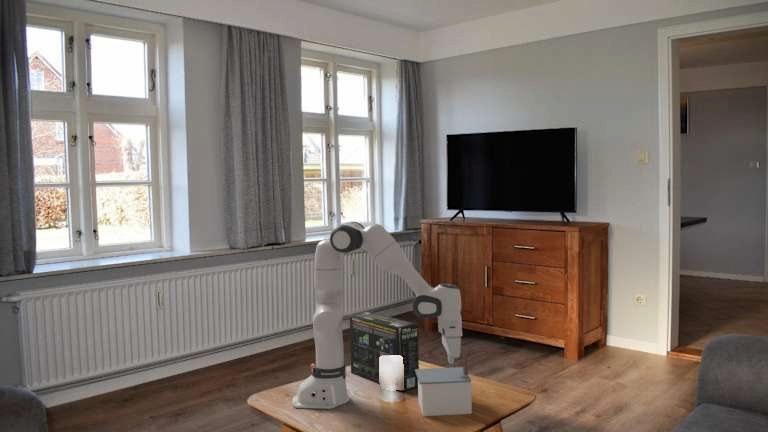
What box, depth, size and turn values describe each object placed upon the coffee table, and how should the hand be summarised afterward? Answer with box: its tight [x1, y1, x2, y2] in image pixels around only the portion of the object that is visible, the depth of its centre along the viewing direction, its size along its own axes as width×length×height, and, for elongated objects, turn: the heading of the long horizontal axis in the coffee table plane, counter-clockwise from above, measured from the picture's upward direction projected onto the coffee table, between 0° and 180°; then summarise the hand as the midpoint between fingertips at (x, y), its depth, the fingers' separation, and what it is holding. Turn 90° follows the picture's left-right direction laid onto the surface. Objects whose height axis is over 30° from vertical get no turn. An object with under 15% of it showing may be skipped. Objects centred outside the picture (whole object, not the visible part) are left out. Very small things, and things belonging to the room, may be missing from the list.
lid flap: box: [415, 351, 472, 384], centre depth 234 cm, size 19×16×9 cm
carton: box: [417, 381, 473, 417], centre depth 235 cm, size 18×15×12 cm
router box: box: [348, 311, 420, 391], centre depth 268 cm, size 36×11×27 cm, turn 39°
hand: (450, 362), depth 234 cm, fingers closed
